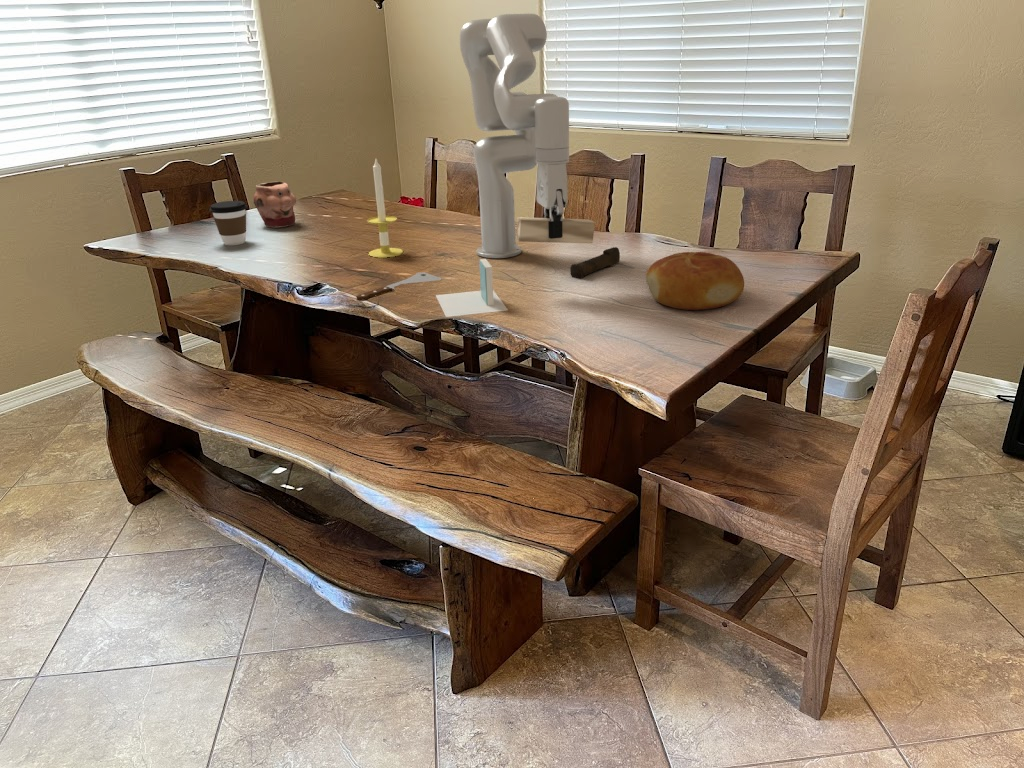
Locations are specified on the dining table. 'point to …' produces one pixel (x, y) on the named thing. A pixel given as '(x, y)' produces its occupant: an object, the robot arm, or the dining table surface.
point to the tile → (486, 281)
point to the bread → (695, 281)
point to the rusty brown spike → (596, 263)
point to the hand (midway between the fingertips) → (553, 235)
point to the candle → (382, 219)
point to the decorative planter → (275, 204)
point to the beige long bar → (540, 230)
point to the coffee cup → (230, 221)
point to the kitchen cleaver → (416, 278)
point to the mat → (468, 304)
